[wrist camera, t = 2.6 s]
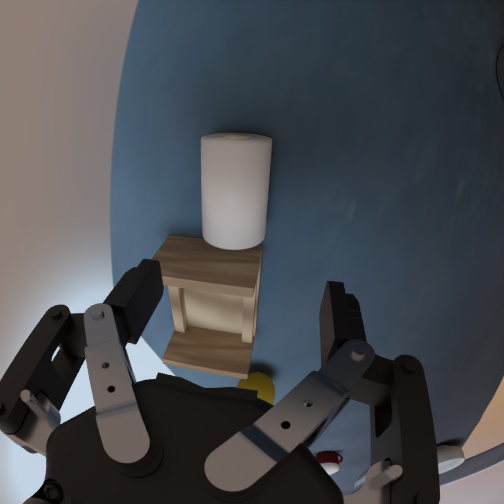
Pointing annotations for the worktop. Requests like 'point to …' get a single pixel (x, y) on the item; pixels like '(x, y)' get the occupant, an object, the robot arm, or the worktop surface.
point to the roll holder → (211, 304)
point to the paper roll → (235, 189)
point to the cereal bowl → (449, 457)
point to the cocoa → (329, 461)
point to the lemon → (259, 386)
